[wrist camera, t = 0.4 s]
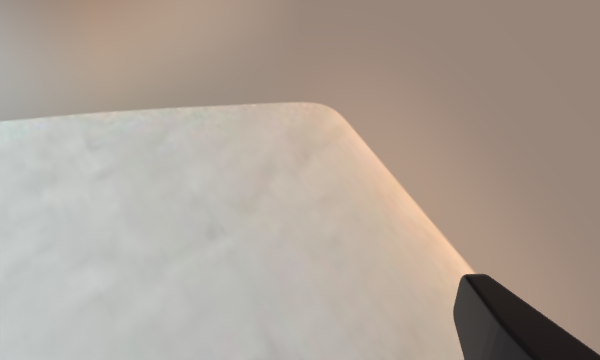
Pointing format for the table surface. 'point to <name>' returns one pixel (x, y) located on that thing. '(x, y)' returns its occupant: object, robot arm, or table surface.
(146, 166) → the table surface
